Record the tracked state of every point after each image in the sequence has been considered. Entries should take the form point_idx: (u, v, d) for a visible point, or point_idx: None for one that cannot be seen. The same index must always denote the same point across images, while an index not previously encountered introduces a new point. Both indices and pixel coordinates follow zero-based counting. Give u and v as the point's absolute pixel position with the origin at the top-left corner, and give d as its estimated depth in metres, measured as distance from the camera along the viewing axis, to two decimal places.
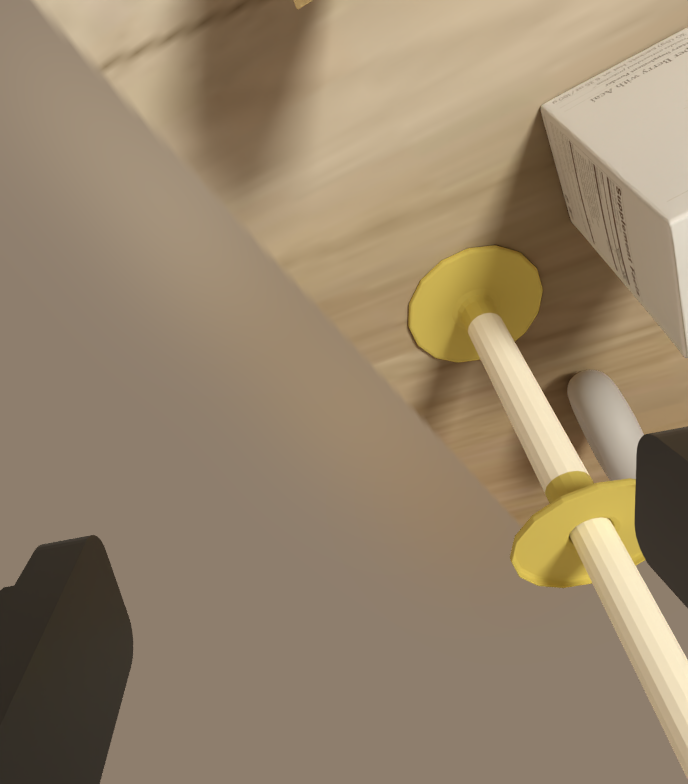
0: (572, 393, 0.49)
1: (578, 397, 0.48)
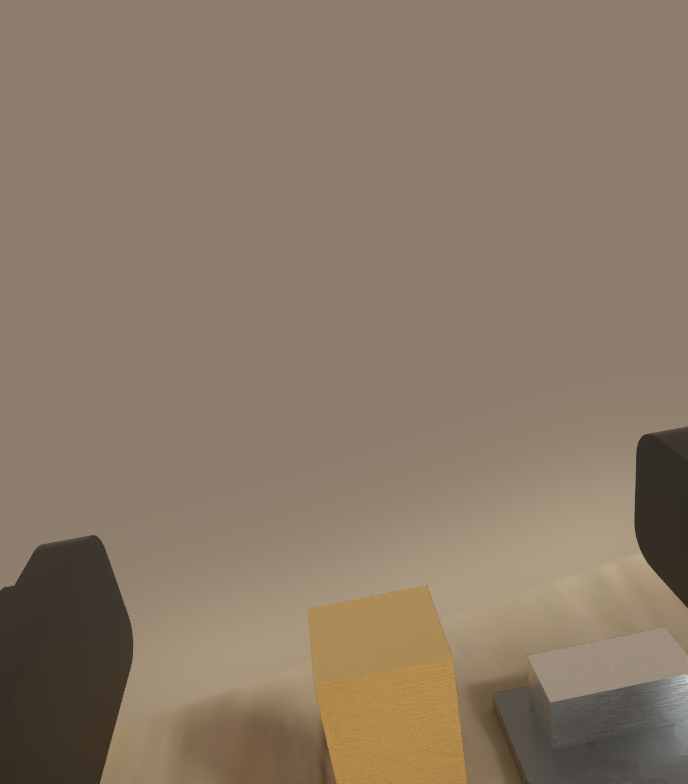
0: None
1: None
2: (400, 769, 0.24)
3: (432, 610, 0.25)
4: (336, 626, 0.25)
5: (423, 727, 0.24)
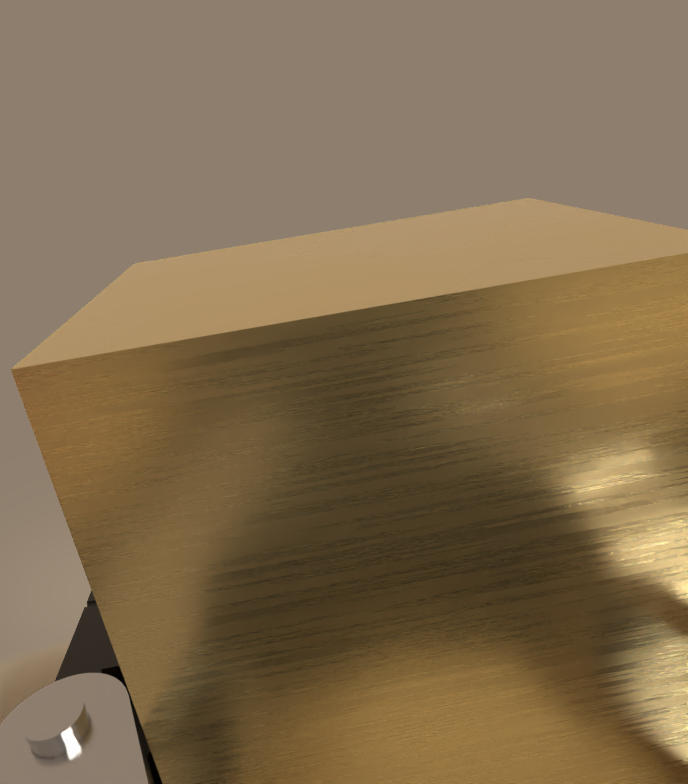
0: None
1: None
2: None
3: (569, 210, 0.07)
4: (211, 267, 0.07)
5: (560, 625, 0.05)
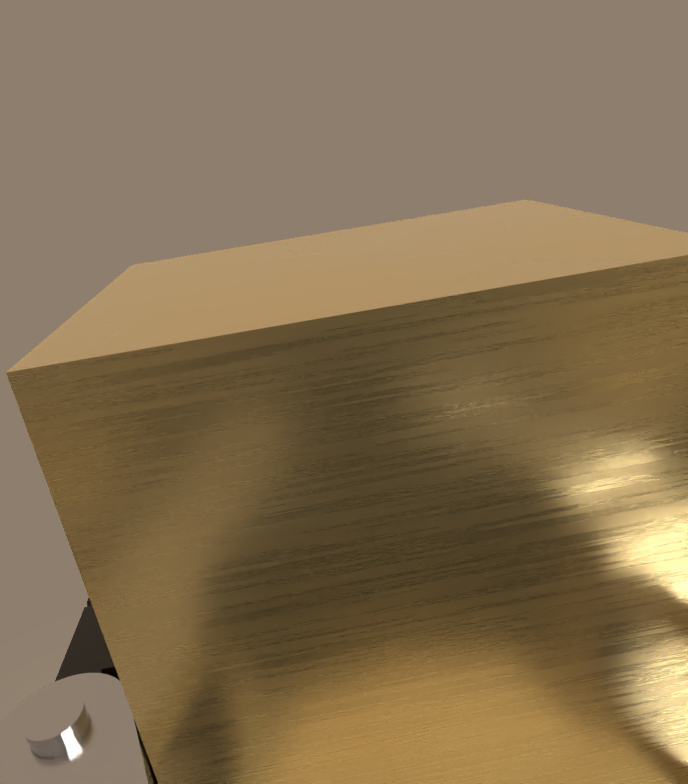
0: None
1: None
2: None
3: (566, 212, 0.07)
4: (208, 269, 0.07)
5: (556, 628, 0.05)
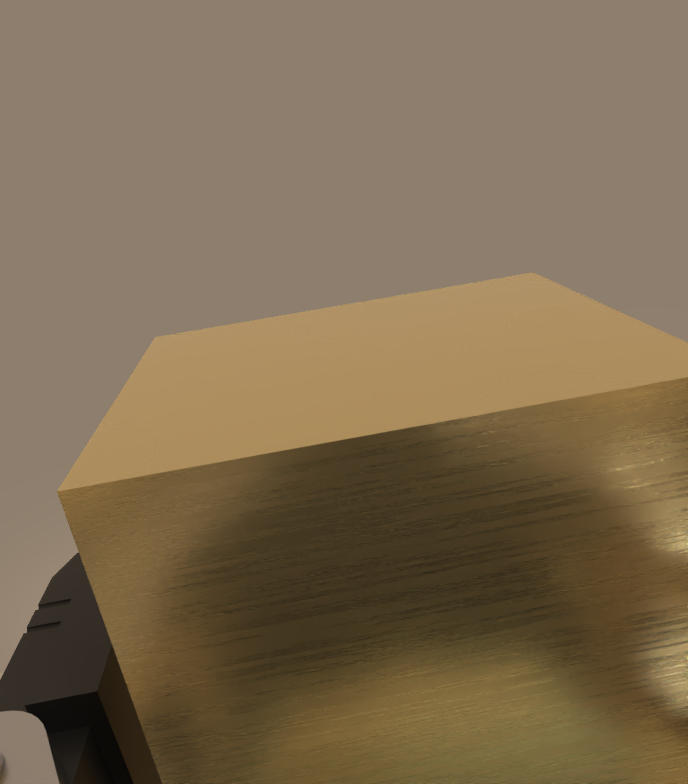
0: None
1: None
2: None
3: (572, 298, 0.07)
4: (232, 352, 0.07)
5: (565, 708, 0.06)
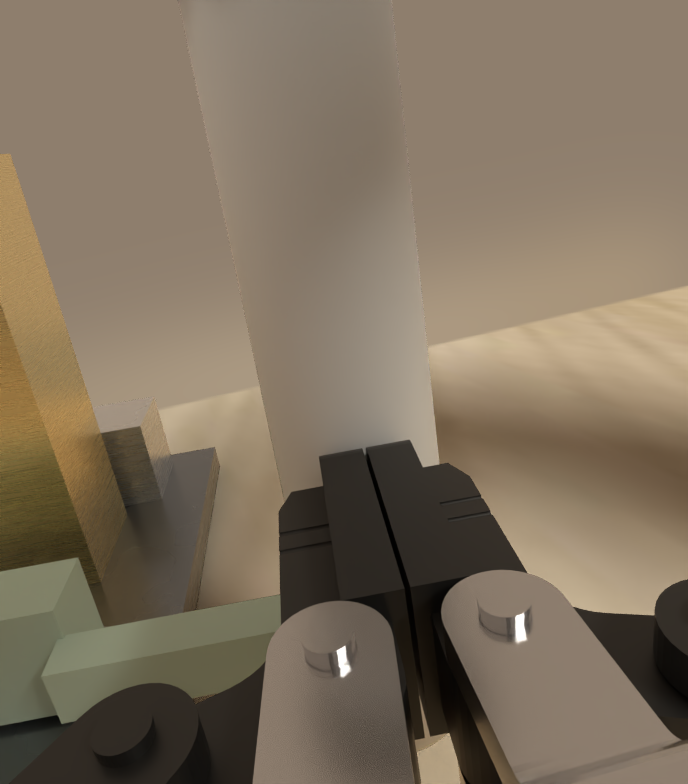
0: None
1: None
2: None
3: None
4: None
5: None
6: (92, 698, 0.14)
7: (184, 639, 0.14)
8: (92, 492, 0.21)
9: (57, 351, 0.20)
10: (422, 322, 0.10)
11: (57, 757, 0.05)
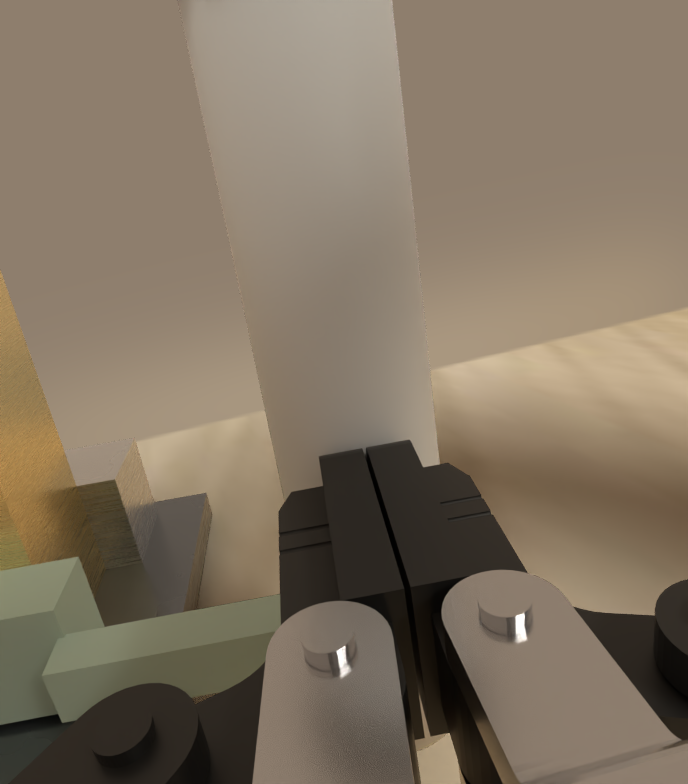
0: None
1: None
2: None
3: None
4: None
5: None
6: (93, 697, 0.14)
7: (184, 638, 0.14)
8: (61, 552, 0.18)
9: (18, 388, 0.17)
10: (422, 322, 0.10)
11: (57, 757, 0.05)
